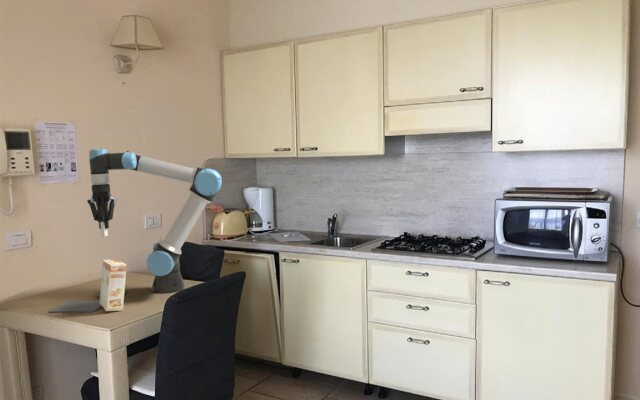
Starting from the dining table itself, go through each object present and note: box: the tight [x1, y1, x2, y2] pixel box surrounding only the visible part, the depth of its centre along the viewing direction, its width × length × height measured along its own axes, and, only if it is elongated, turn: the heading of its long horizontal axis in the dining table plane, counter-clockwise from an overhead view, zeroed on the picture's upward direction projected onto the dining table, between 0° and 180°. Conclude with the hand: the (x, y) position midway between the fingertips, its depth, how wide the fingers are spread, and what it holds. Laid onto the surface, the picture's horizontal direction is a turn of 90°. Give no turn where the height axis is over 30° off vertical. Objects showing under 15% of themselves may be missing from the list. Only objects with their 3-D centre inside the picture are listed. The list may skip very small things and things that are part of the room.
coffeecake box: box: [99, 259, 128, 312], centre depth 222 cm, size 15×7×20 cm, turn 33°
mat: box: [48, 300, 103, 314], centre depth 225 cm, size 20×15×1 cm
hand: (104, 235), depth 233 cm, fingers closed
